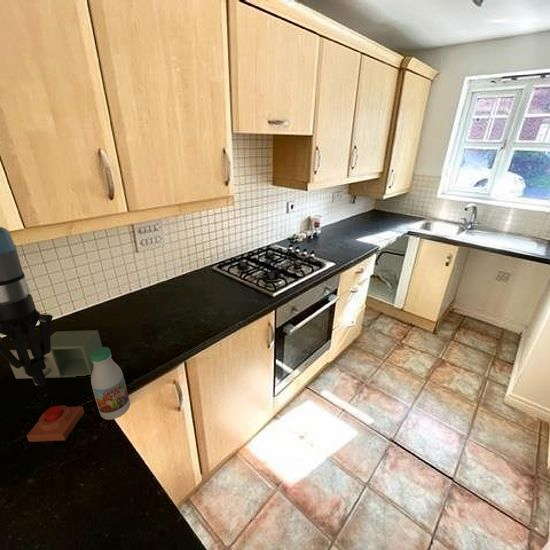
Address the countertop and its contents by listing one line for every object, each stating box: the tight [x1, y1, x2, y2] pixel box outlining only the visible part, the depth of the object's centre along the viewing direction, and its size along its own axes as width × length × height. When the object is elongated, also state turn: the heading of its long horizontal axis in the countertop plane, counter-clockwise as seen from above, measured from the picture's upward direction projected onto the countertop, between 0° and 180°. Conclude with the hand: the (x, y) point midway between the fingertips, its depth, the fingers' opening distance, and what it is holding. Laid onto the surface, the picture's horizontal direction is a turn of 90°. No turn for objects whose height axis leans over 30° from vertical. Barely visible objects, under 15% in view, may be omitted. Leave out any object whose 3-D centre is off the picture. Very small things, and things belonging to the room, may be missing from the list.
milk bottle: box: [90, 346, 131, 421], centre depth 82 cm, size 8×8×20 cm
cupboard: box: [49, 329, 103, 379], centre depth 100 cm, size 14×9×12 cm, turn 92°
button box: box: [26, 405, 85, 443], centre depth 80 cm, size 9×9×4 cm
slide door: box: [9, 348, 62, 386], centre depth 92 cm, size 14×7×10 cm, turn 92°
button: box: [43, 405, 62, 422], centre depth 79 cm, size 4×4×2 cm
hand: (40, 382), depth 75 cm, fingers closed
